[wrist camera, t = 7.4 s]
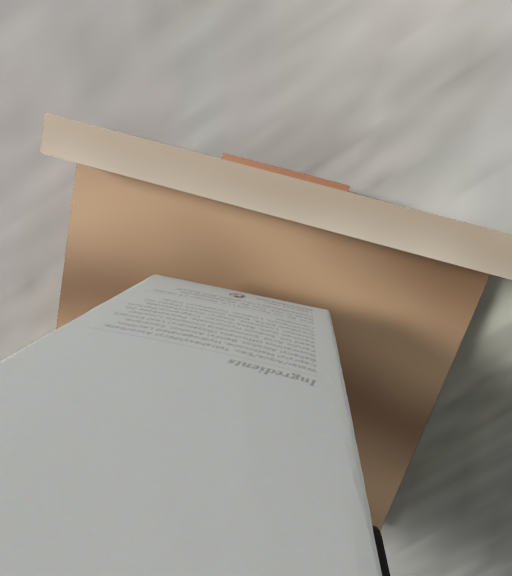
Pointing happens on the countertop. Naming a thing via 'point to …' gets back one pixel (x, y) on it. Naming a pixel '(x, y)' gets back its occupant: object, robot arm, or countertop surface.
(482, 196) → the countertop surface
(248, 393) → the small box
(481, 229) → the shelf board
